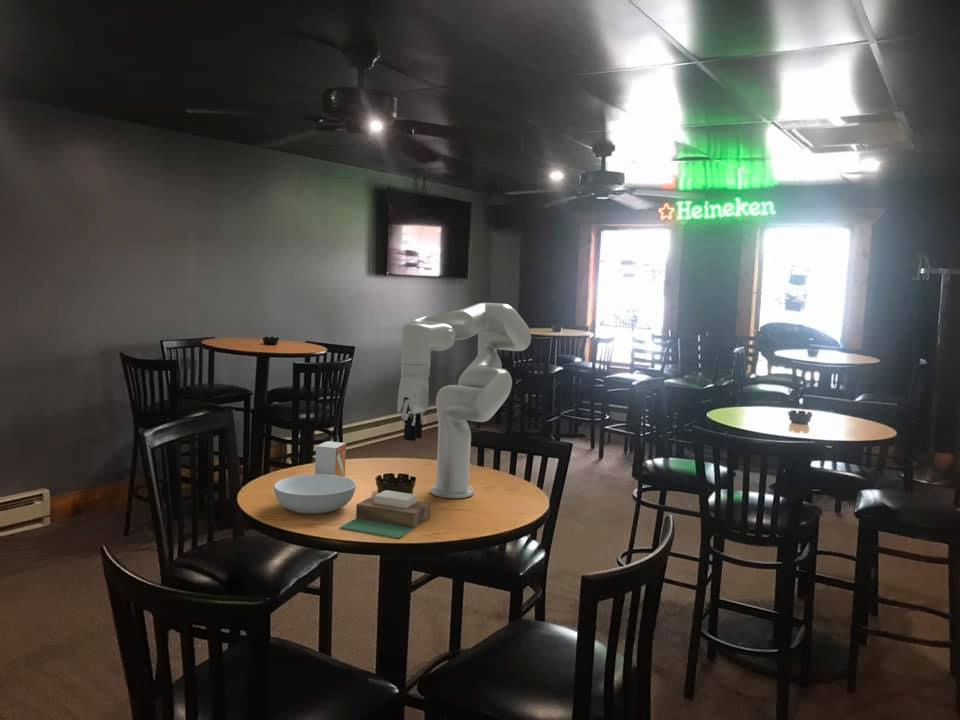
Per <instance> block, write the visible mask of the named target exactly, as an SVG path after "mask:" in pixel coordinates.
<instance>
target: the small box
mask: <svg viewBox="0 0 960 720" xmlns="http://www.w3.org/2000/svg"><path fill="white" fill-rule="evenodd" d="M346 454H347V443H346V442H339V441H330V440H329V441H324V442H322V443H320V444H318V445H316V446H315V462H314V465H315V467H314V470H315V471H314V474H326V475H337V476H343V477H346V459H347V458H346V457H347V456H346Z"/></svg>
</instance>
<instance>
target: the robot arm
mask: <svg viewBox="0 0 960 720" xmlns="http://www.w3.org/2000/svg"><path fill="white" fill-rule="evenodd" d="M476 335H477V355H476V357H475V358H474V359H473V361H472V362H471V363H470V364H469V365H468V366H466V368H465V370H464V371H462V373H461V375H460V376H459V378H458V383H457V384H448V385H445V386H443V387H441V388H440V389H439V390H438V392H437V394H436V397H435V405H436V411H437V412H436V413H437V422H438V423H437V424H438V426H437V427H438V429H437V431H438V434H437V435H438V436H437V453H436V454H437V456H436V477H435V478H436V480H435V481H436V482H435V485H432V486H431V487H430V493H431V494H432V495H433V496H436V497H439V498H446V499H464V498H468V497H472V496H473V495H475V494H474V493H475V489H474V488H473V487H471V486H470V480H471V478H472V477H471V476H472V475H471V474H470V468H471V467H470V465H471V464H470V463H471V444H472V443H471V442H472V432H471V429H470V425H469V423H468V421H471V422H479V423H484V422H487V421H489V420H490V419H492V417H494V415H495V414H496V413H497V412H498V410H499V409H500V408H501V407H502V405H503V404H504V403H505V401H506V400H507V399H508V397H509V395H510V394H511V390H512V386H513V379H512V376H511V374H510V372H509V371H508V370H507V369H505V368H503V367H502V365H503V364H502V361H501V358H500V356H499V355H498V351H497V350H500V351H511V352H522V351H525V350H526V349H528V347H529V346H530V345H531V342H532V333H531V330H530V328H529V326H528V324H527V323H526V322H525V320H524V319H523V318H522V316H521V315H520V314H519V313H518V311H517V310H516V309H515V308H514V307H512V306H511V305H510V304H507V303H497V302H479V303H475V304H473V305H469V306H467V307H464V308H462V309H458V310H454V311H447V312H442V313H437V314H435V313H434V314H431V315H425V316H421V317H420V318H415V319H413V320H411V321H410V322H409V323H405V324H404V325H403V328H402V336H401V337H402V339H401V340H402V341H401V343H402V344H401V363H400V364H401V365H400V369H401V370H400V376H401V377H400V379H399V380H400V381H399V386H398V387H399V388H398V396H397V406H396V407H397V409H396V410H397V413H399V414H401V415H400V418H401V419H402V420H403V427H404V428H403V429H404V430H403V440H404V441H411V442H415V441H416V439H421V438H422V437H423V423H424V415H425V413H426V411H427V410H428V408H429V394H430V393H429V377H430V375H431V374H430V373H431V352H432V351H440V352H441V351H446V350H449V349H450V348H451V347H453V345H454V344H455V341H459V340H461V341H462V340H467V339H470V338H471V337H474V336H476Z"/></svg>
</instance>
